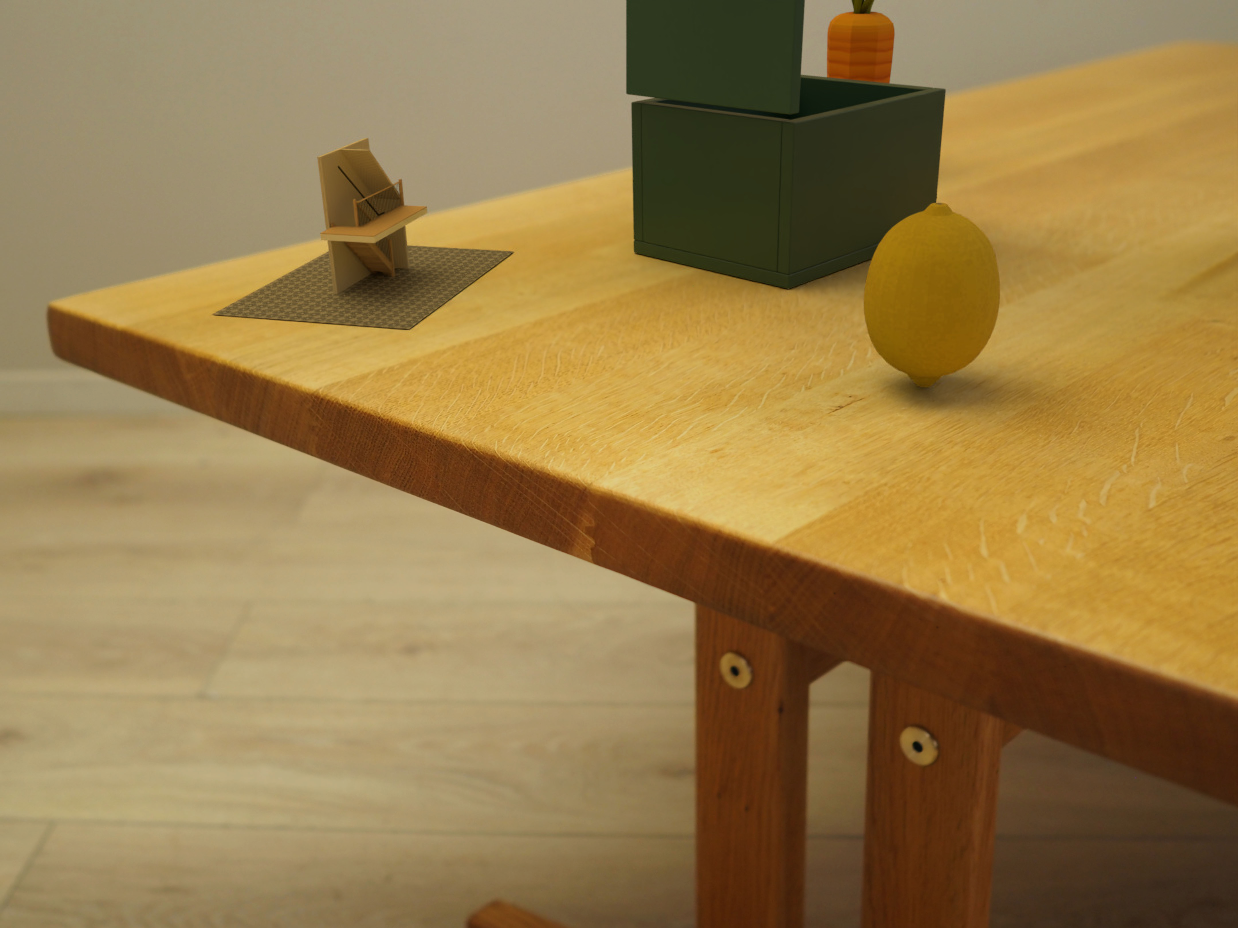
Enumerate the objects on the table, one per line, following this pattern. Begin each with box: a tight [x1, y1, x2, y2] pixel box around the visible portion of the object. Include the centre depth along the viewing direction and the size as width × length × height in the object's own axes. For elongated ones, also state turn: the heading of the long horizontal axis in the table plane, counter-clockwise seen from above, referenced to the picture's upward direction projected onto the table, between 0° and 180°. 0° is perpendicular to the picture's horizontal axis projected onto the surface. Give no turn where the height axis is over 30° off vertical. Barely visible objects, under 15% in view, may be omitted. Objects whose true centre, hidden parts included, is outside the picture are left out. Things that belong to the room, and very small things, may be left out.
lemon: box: [863, 202, 1001, 388], centre depth 53 cm, size 6×6×8 cm
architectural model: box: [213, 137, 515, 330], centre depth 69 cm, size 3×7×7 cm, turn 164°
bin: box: [630, 74, 947, 290], centre depth 74 cm, size 15×12×9 cm
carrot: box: [826, 0, 896, 83], centre depth 92 cm, size 5×5×15 cm
